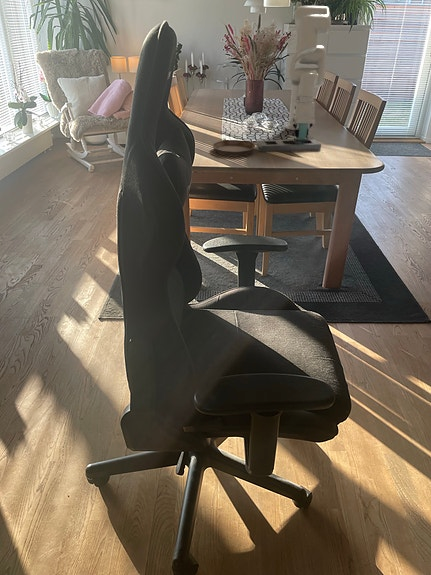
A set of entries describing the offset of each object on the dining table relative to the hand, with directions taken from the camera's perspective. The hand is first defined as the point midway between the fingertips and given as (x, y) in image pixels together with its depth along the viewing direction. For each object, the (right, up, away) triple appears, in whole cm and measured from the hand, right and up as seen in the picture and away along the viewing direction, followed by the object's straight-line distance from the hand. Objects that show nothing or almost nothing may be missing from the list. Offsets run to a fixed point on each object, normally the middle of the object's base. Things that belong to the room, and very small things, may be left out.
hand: (301, 136), depth 238 cm
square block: (0, -2, +2) cm, 3 cm away
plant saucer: (-36, -12, -14) cm, 40 cm away
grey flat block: (-8, -9, -9) cm, 15 cm away
